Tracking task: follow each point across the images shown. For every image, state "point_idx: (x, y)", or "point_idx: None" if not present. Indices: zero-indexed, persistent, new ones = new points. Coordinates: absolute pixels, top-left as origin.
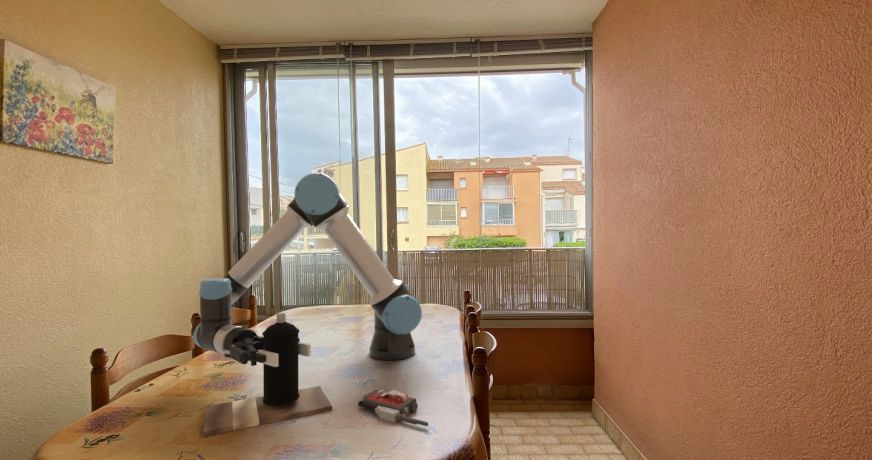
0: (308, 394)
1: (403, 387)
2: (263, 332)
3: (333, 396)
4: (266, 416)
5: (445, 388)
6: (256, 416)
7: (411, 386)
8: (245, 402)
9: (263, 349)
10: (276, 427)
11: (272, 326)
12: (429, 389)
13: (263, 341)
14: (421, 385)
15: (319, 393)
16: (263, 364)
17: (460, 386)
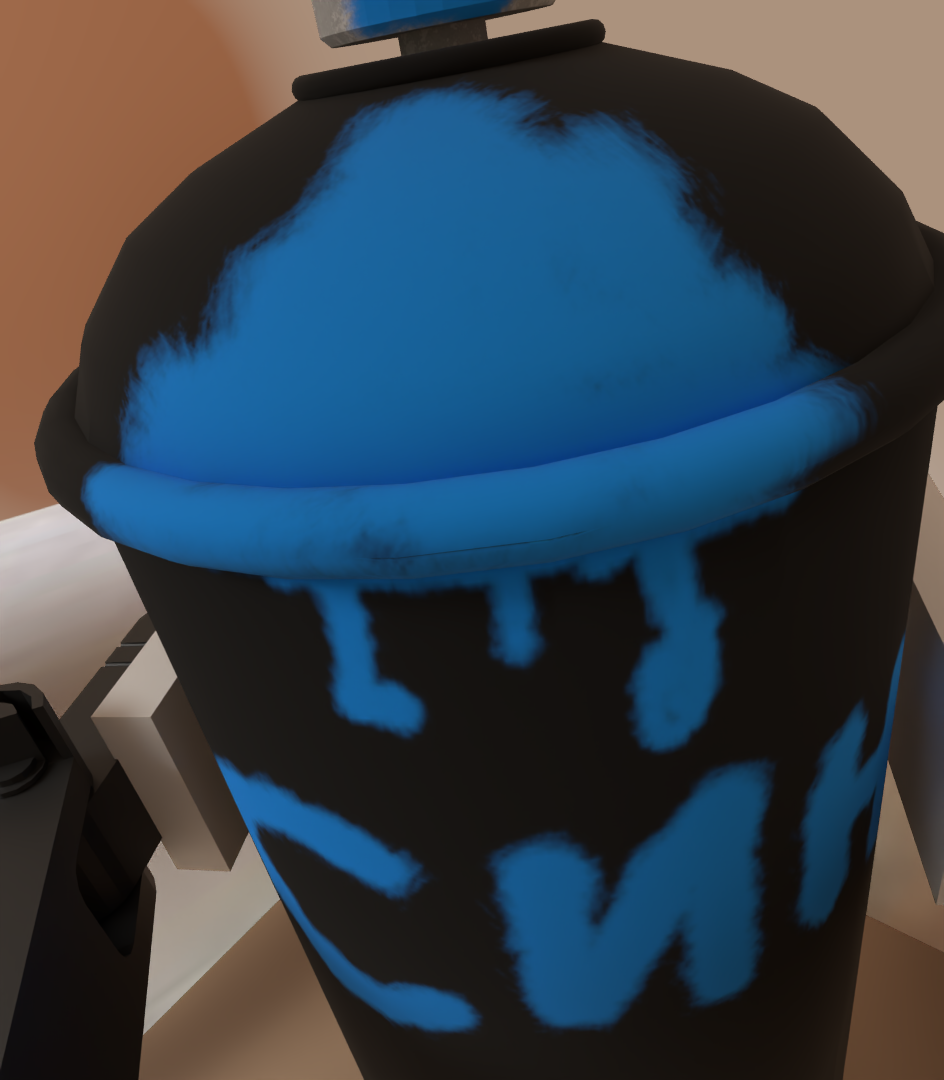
0: (318, 1034)
1: (57, 646)
2: (900, 344)
3: (239, 890)
4: (907, 991)
5: (80, 533)
6: None
7: (44, 627)
8: None
9: (881, 733)
10: (884, 849)
11: (724, 68)
12: (91, 563)
13: (902, 562)
14: (32, 604)
15: (271, 954)
16: (849, 966)
17: (58, 511)
